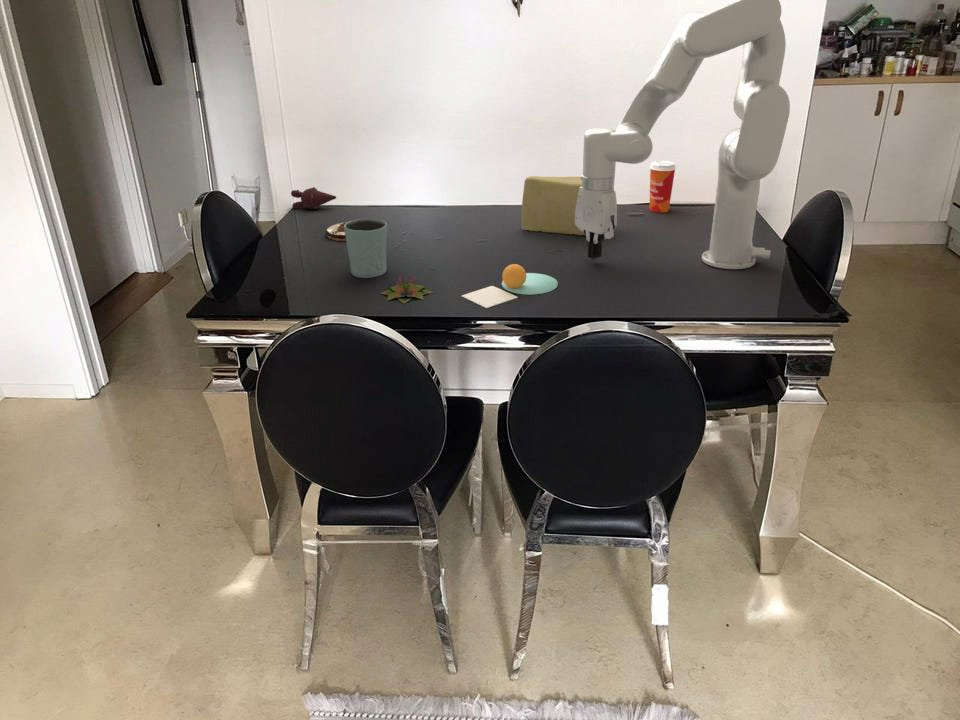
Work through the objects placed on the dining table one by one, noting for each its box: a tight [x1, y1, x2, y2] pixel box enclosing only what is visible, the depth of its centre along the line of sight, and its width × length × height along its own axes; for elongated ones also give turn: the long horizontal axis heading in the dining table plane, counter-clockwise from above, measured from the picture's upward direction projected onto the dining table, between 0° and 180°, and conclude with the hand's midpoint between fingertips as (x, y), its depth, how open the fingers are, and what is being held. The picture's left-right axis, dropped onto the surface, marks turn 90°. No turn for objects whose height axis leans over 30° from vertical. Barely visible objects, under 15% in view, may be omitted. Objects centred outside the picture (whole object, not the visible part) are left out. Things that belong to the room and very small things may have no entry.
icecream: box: [290, 186, 337, 210], centre depth 232 cm, size 7×7×15 cm
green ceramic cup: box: [344, 218, 388, 279], centre depth 180 cm, size 10×10×12 cm
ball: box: [501, 263, 527, 288], centre depth 170 cm, size 6×6×6 cm
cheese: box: [521, 175, 586, 237], centre depth 205 cm, size 22×10×15 cm, turn 78°
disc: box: [501, 272, 559, 296], centre depth 173 cm, size 13×13×1 cm
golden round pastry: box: [325, 220, 350, 242], centre depth 209 cm, size 15×15×4 cm
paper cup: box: [649, 160, 677, 214], centre depth 220 cm, size 8×8×14 cm
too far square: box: [461, 285, 519, 309], centre depth 167 cm, size 9×9×1 cm
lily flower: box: [379, 274, 435, 304], centre depth 169 cm, size 12×12×5 cm
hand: (594, 256), depth 184 cm, fingers closed
